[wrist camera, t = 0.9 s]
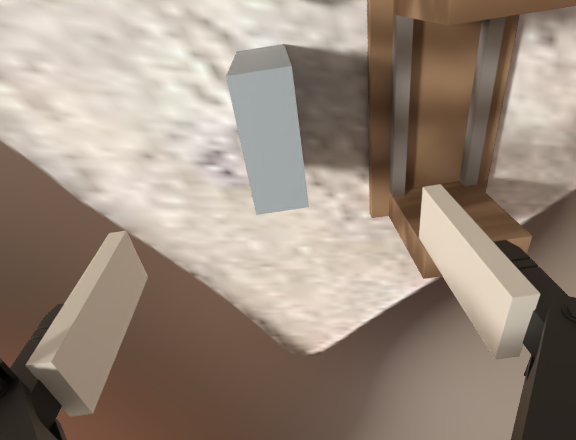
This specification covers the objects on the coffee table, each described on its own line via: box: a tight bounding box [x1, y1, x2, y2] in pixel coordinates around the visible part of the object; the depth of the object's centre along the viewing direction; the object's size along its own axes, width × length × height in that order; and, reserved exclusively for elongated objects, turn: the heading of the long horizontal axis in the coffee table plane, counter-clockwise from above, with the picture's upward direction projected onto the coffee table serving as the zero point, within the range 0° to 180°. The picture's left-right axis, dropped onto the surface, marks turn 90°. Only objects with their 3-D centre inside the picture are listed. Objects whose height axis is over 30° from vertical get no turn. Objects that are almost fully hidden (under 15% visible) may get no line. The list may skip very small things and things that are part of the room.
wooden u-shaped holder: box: [367, 0, 576, 279], centre depth 29 cm, size 22×12×11 cm, turn 8°
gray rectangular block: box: [226, 44, 309, 215], centre depth 28 cm, size 10×4×10 cm, turn 8°
